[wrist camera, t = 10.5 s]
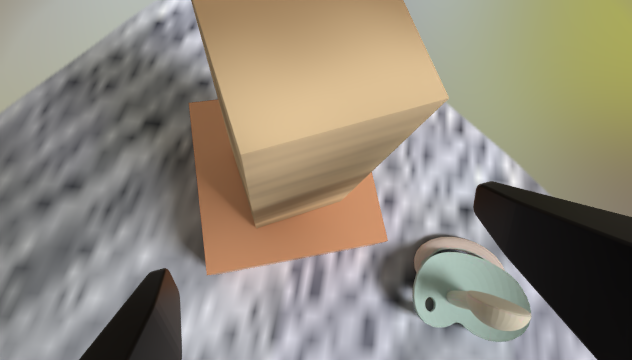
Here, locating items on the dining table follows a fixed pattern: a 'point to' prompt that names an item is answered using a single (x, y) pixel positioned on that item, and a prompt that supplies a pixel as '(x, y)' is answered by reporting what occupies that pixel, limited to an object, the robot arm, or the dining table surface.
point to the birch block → (314, 93)
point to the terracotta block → (277, 238)
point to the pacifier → (468, 290)
